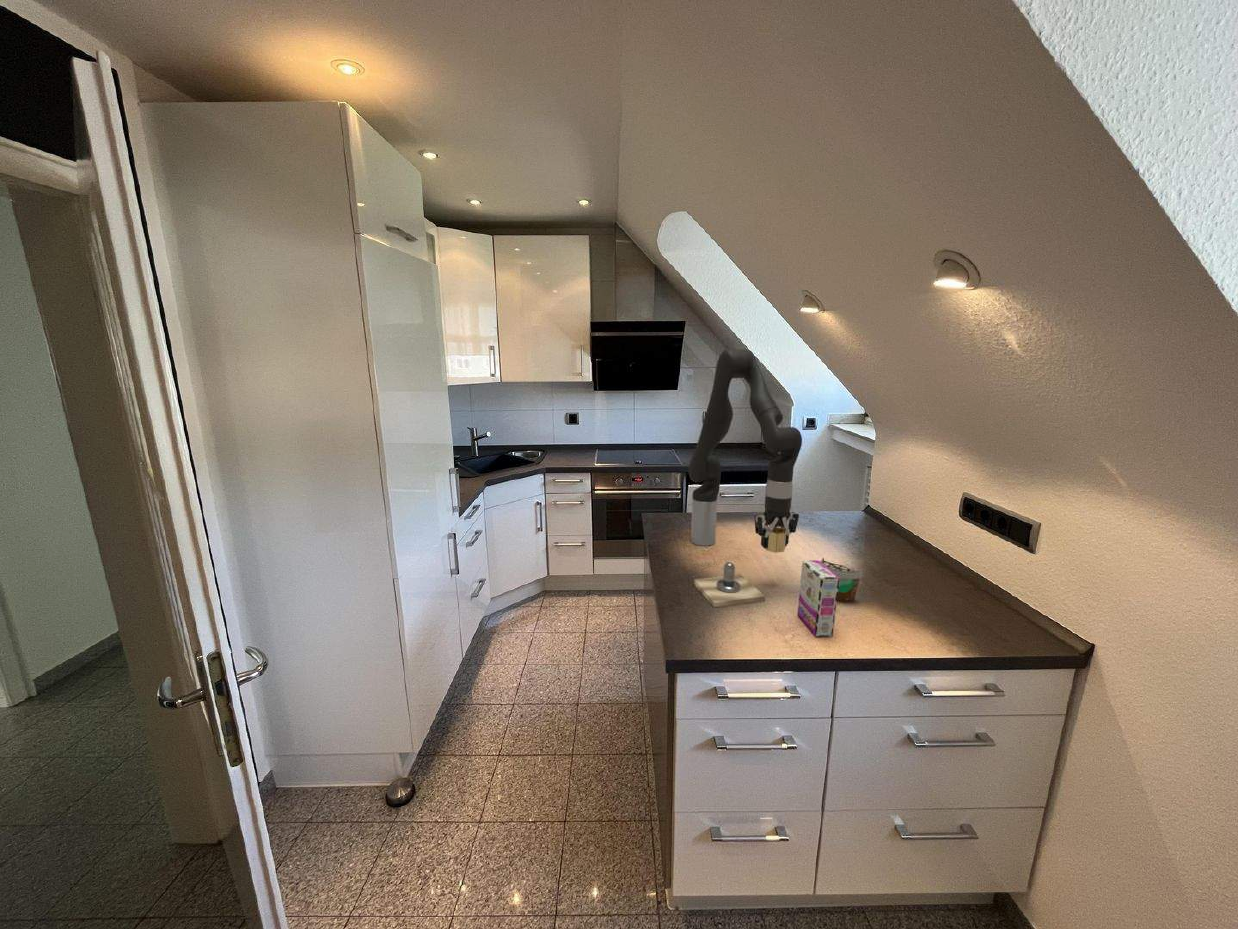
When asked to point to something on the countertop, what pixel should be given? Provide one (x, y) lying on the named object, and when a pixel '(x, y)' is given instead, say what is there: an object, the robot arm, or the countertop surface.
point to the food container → (845, 581)
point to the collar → (777, 540)
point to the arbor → (728, 580)
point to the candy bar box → (818, 598)
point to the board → (726, 599)
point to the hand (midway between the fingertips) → (774, 546)
